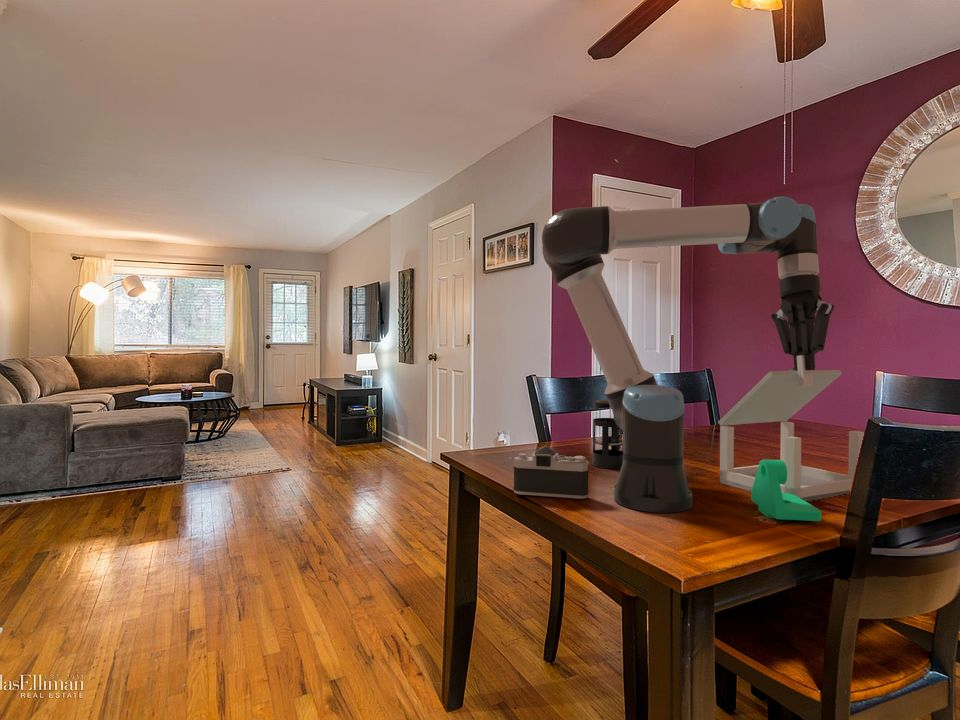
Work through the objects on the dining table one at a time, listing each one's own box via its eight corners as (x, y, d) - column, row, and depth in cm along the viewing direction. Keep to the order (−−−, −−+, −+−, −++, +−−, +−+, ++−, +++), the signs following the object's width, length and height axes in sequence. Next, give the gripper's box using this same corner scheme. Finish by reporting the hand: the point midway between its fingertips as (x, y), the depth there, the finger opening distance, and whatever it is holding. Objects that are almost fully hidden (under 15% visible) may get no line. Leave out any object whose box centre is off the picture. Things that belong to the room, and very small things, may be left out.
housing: (793, 503, 102) (794, 438, 102) (719, 482, 119) (720, 426, 119) (863, 492, 111) (864, 432, 111) (785, 474, 128) (786, 421, 127)
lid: (773, 374, 106) (766, 366, 108) (720, 425, 119) (715, 417, 120) (842, 373, 115) (835, 365, 116) (786, 420, 127) (780, 413, 129)
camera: (590, 489, 113) (590, 443, 113) (589, 500, 105) (589, 451, 105) (518, 484, 117) (519, 440, 117) (512, 494, 109) (512, 447, 109)
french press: (622, 470, 130) (623, 380, 130) (586, 466, 135) (586, 378, 135) (633, 462, 141) (634, 378, 140) (599, 458, 145) (600, 377, 145)
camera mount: (823, 527, 89) (824, 468, 89) (776, 525, 90) (776, 466, 90) (792, 507, 101) (793, 454, 101) (751, 505, 102) (751, 453, 102)
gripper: (840, 271, 107) (848, 385, 105) (784, 286, 119) (790, 388, 116) (815, 267, 104) (823, 384, 102) (760, 282, 116) (766, 387, 114)
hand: (805, 386), depth 109 cm, fingers closed
